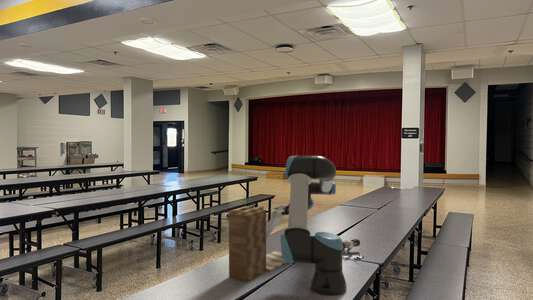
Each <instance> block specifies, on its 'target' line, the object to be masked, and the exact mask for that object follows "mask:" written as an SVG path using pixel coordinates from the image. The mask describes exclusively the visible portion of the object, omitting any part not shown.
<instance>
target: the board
mask: <svg viewBox="0 0 533 300" xmlns="http://www.w3.org/2000/svg"><path fill="white" fill-rule="evenodd" d="M287 263H288V262H285V261H284V260H283V258H282V252H281V251H278V250H274V251H271V252H269V253H266V272H272V271H274V270H276V269H278V268H280V267H281V266H283V265H285V264H287Z"/></svg>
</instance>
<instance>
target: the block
mask: <svg viewBox="0 0 533 300" xmlns="http://www.w3.org/2000/svg"><path fill="white" fill-rule="evenodd" d="M285 206H286V205H279V206H278V207H279V208H278V210H277V211H276V212H275V214H274V215H273V216H271V218H270V219H269V221H268V222H267V223H266V240H267V239H268V238H269V236H270V235H271V234H272V232H273V231H274V230H275V227H276V226H277V225H278V224H279V222H280V220H281V219H282V218H283V216H281V217H277V212H279V211H282V210H285V209H286V207H285Z"/></svg>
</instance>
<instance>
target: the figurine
mask: <svg viewBox="0 0 533 300" xmlns="http://www.w3.org/2000/svg"><path fill="white" fill-rule="evenodd" d="M360 245H361V241H360V239H359V238H354V239H350V240H343V241H342V247H343V250H342V252H345V255H347V254H348V253H349V252H351V250H352V249H353V248H355V247H359V246H360Z"/></svg>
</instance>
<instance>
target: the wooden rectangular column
mask: <svg viewBox="0 0 533 300" xmlns="http://www.w3.org/2000/svg"><path fill="white" fill-rule="evenodd" d="M266 225H267V209H264V206H262V205H261V206H257V207H255V205H254V204H250V205H248V206H243V207H239V208H236V209H232V210H231V211H230V212H229V213H228V278H230V279H234V280H238V281H241V282H245V283H247V282H249V281H251V280H253V279H255V278H257V277H258V276H260V275H261V274H264V273H265V272H267V270H266V255H267V239H266Z"/></svg>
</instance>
